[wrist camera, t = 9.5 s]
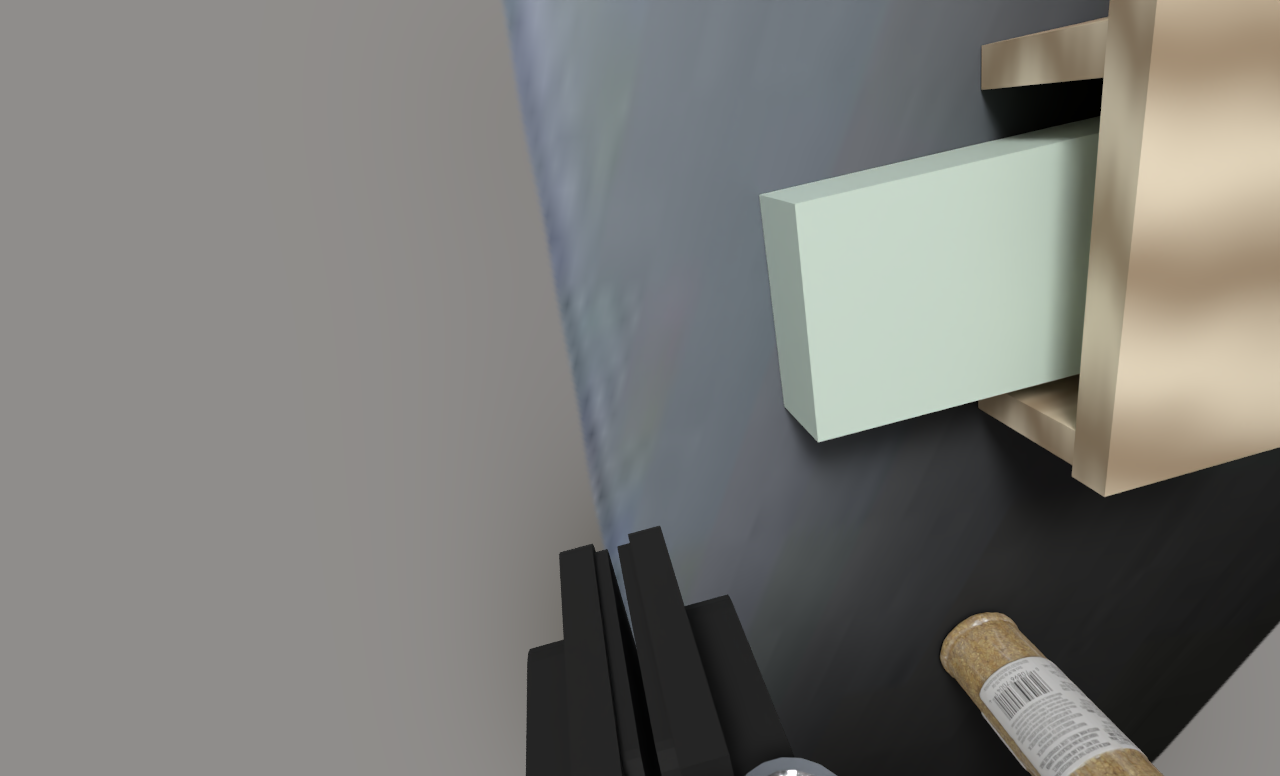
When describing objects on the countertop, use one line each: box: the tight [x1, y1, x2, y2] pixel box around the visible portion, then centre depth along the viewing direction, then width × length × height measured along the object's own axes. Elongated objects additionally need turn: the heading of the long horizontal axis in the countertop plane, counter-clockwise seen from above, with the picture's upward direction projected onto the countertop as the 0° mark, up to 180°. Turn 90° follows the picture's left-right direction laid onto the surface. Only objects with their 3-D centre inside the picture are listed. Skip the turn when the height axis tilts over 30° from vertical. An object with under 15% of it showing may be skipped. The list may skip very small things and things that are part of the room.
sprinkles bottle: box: [940, 612, 1164, 776], centre depth 29 cm, size 5×5×14 cm
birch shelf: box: [978, 0, 1280, 497], centre depth 23 cm, size 16×9×7 cm, turn 12°
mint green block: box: [759, 116, 1101, 442], centre depth 24 cm, size 9×16×4 cm, turn 102°
